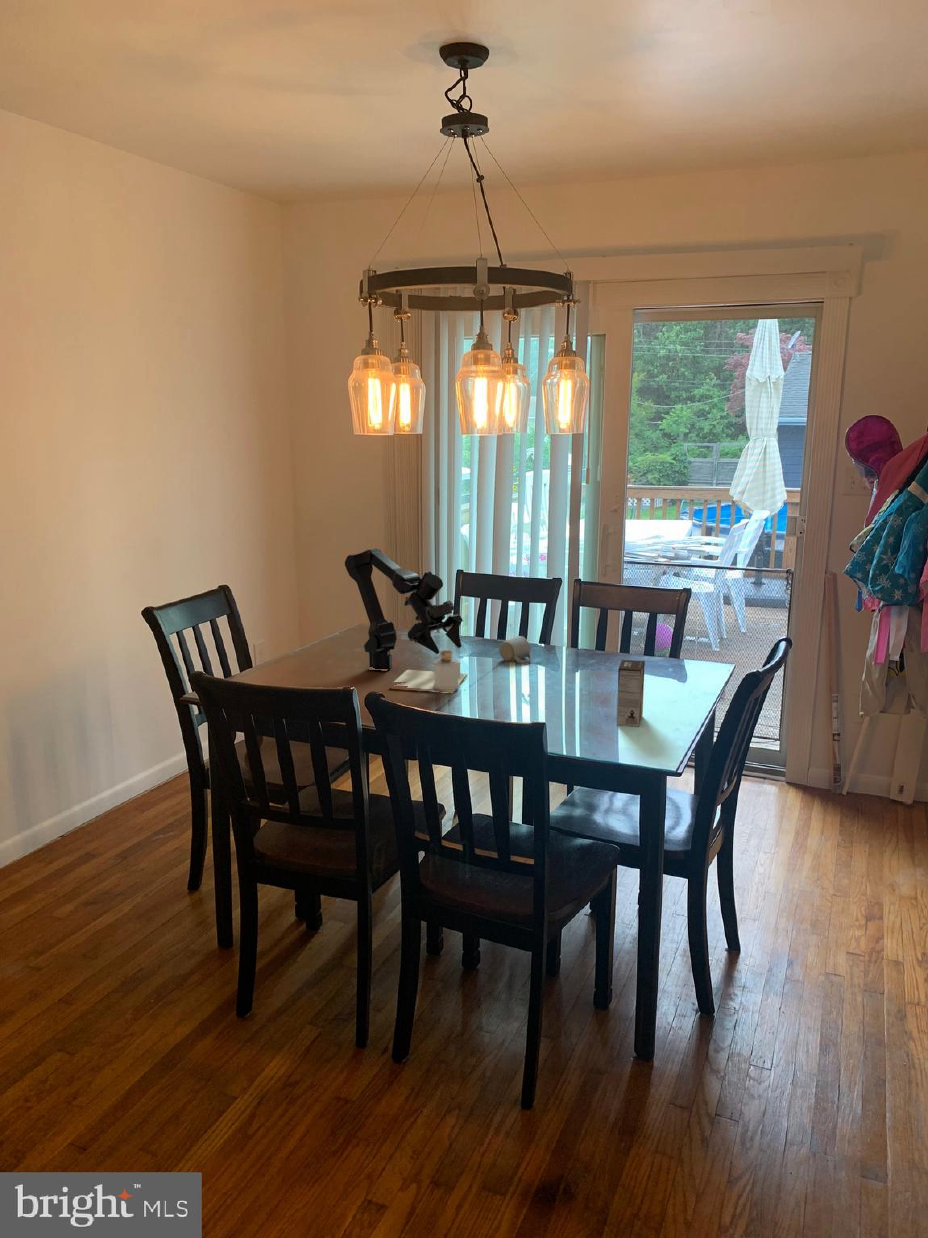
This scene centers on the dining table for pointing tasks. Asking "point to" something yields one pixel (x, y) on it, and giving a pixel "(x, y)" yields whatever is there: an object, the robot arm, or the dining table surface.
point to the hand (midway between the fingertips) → (449, 650)
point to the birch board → (422, 680)
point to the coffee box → (630, 693)
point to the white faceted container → (446, 674)
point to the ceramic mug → (515, 650)
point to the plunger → (446, 655)
